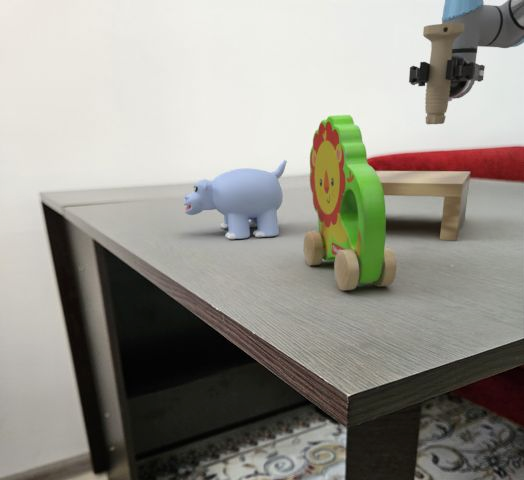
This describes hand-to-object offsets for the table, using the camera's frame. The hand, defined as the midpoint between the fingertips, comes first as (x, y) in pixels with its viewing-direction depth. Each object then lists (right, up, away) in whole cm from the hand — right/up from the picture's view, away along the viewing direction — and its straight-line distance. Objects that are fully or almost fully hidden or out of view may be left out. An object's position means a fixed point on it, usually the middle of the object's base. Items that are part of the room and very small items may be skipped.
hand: (435, 70), depth 85 cm
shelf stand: (-8, -28, -10) cm, 30 cm away
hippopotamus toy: (-32, -29, -9) cm, 44 cm away
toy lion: (-20, -37, -29) cm, 52 cm away
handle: (+2, -6, +8) cm, 10 cm away
